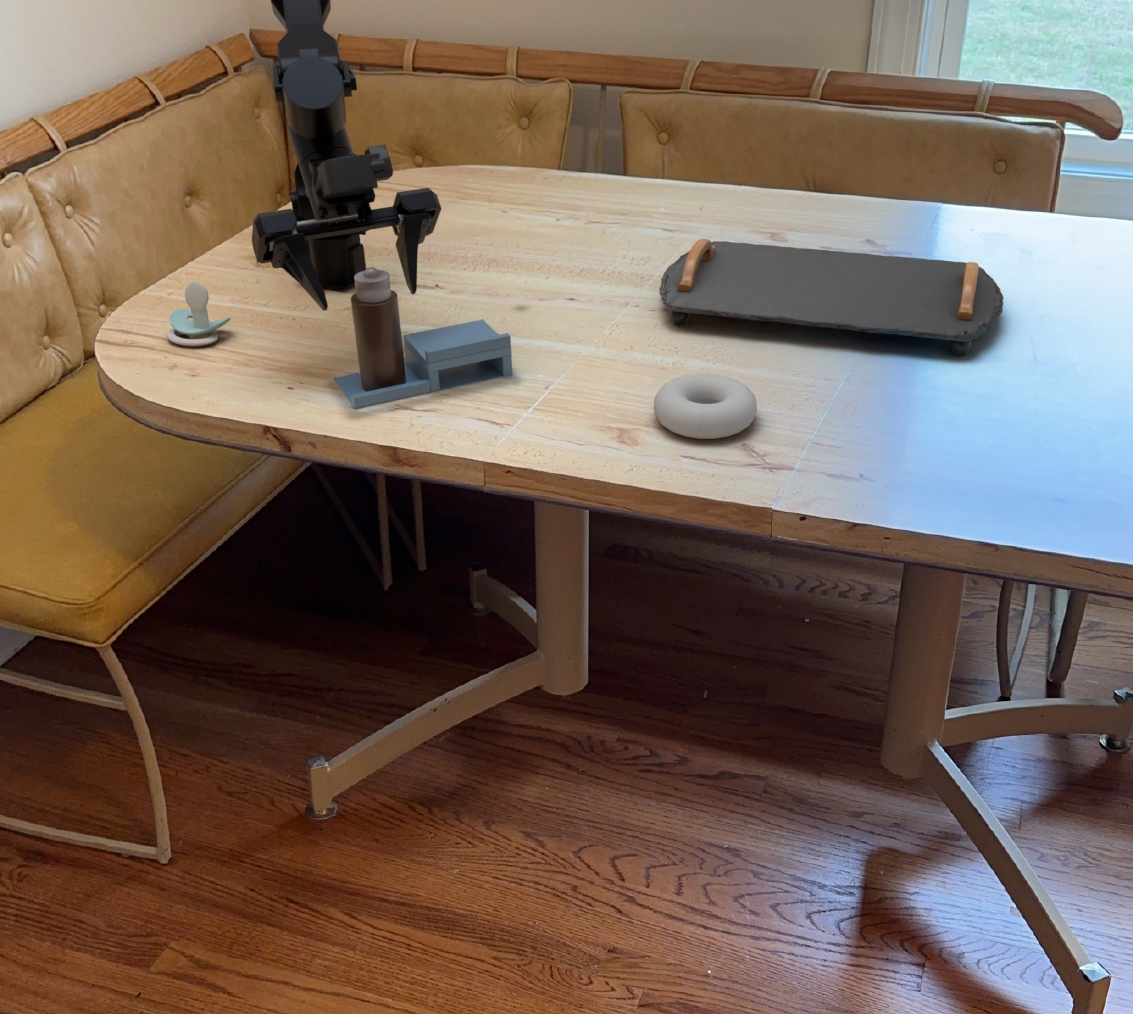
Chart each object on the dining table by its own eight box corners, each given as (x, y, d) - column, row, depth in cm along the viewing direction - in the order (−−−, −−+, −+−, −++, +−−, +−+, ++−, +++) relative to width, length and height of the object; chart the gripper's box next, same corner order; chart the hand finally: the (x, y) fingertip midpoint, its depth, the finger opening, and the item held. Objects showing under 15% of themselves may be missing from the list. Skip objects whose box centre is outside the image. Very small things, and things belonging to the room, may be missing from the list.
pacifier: (206, 353, 134) (240, 332, 139) (195, 301, 131) (230, 280, 135) (155, 343, 137) (190, 322, 141) (142, 292, 133) (178, 272, 138)
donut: (743, 396, 122) (646, 400, 122) (746, 365, 120) (647, 369, 120) (766, 443, 114) (661, 448, 113) (769, 410, 112) (662, 415, 111)
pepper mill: (352, 389, 124) (337, 272, 117) (376, 371, 127) (363, 256, 120) (391, 397, 122) (378, 278, 115) (414, 378, 125) (403, 262, 119)
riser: (333, 384, 126) (327, 338, 124) (484, 352, 132) (482, 308, 130) (355, 415, 120) (349, 368, 118) (513, 381, 126) (510, 335, 123)
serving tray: (1001, 288, 145) (1010, 237, 142) (996, 367, 126) (1006, 312, 123) (686, 258, 156) (688, 211, 152) (639, 328, 137) (639, 276, 134)
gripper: (238, 131, 113) (283, 280, 110) (427, 106, 120) (474, 247, 117) (235, 192, 123) (276, 330, 121) (409, 166, 130) (452, 297, 127)
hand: (370, 300), depth 121 cm, fingers open, 9 cm apart
